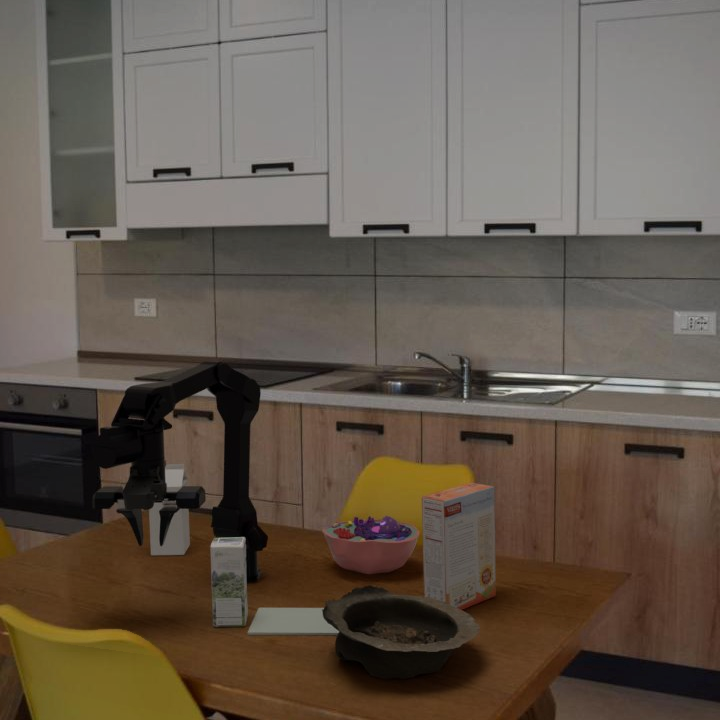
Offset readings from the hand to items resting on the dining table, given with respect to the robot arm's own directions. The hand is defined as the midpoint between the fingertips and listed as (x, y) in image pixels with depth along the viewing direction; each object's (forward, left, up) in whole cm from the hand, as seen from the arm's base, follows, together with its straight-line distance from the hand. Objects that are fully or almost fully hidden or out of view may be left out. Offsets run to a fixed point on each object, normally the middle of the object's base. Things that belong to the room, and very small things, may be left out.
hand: (151, 545), depth 182 cm
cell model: (-27, +37, -13) cm, 48 cm away
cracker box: (-8, +54, -13) cm, 56 cm away
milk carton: (-40, -7, -13) cm, 43 cm away
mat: (+2, +26, -13) cm, 29 cm away
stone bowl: (+18, +44, -13) cm, 49 cm away
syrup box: (+2, +14, -13) cm, 19 cm away
